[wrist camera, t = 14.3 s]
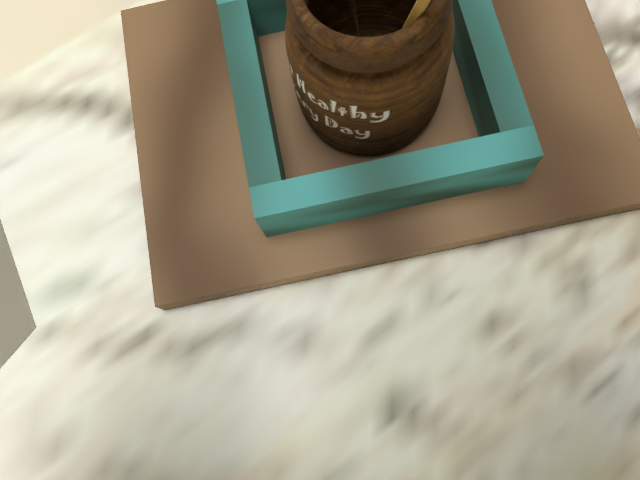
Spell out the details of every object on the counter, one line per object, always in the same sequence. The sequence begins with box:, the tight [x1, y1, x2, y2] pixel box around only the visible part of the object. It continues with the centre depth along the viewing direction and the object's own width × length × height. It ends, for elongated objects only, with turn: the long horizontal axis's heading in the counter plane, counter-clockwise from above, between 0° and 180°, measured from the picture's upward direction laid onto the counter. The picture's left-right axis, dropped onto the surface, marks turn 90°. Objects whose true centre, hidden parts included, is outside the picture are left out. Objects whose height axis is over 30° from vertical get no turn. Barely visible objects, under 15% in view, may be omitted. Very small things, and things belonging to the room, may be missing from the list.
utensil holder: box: [285, 0, 454, 155], centre depth 18 cm, size 6×6×12 cm
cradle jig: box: [121, 0, 640, 310], centre depth 23 cm, size 20×14×4 cm
